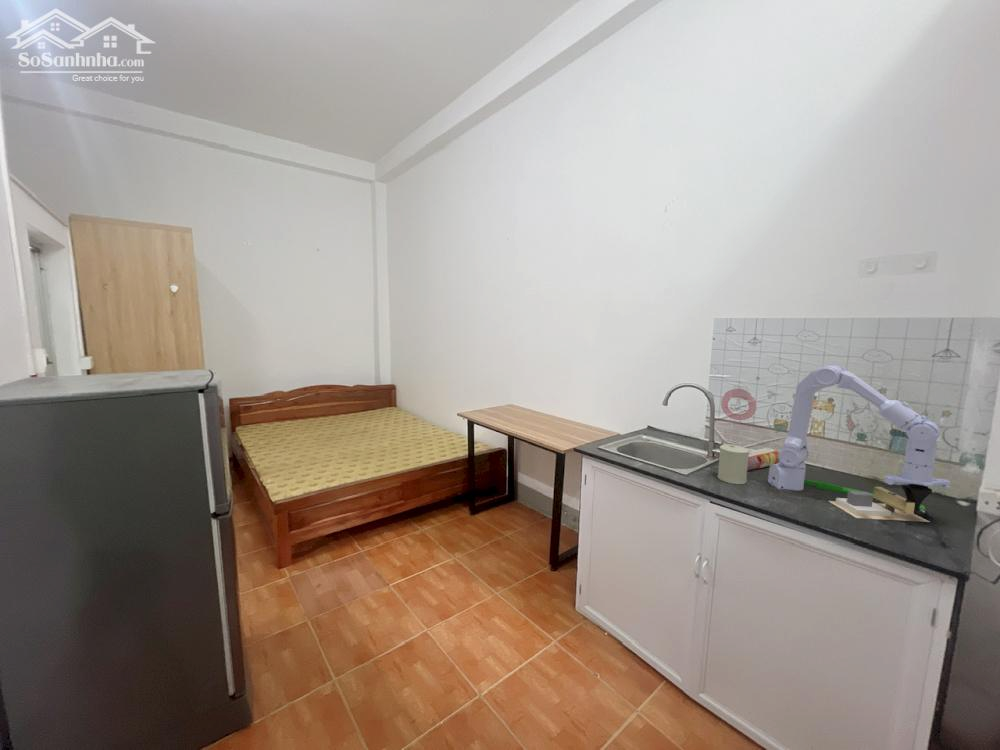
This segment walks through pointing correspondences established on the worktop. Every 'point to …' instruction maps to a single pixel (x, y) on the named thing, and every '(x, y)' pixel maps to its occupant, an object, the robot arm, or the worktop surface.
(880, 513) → the cover
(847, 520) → the worktop surface
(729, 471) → the can
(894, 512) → the board
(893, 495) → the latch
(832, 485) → the green onion
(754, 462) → the snack package
